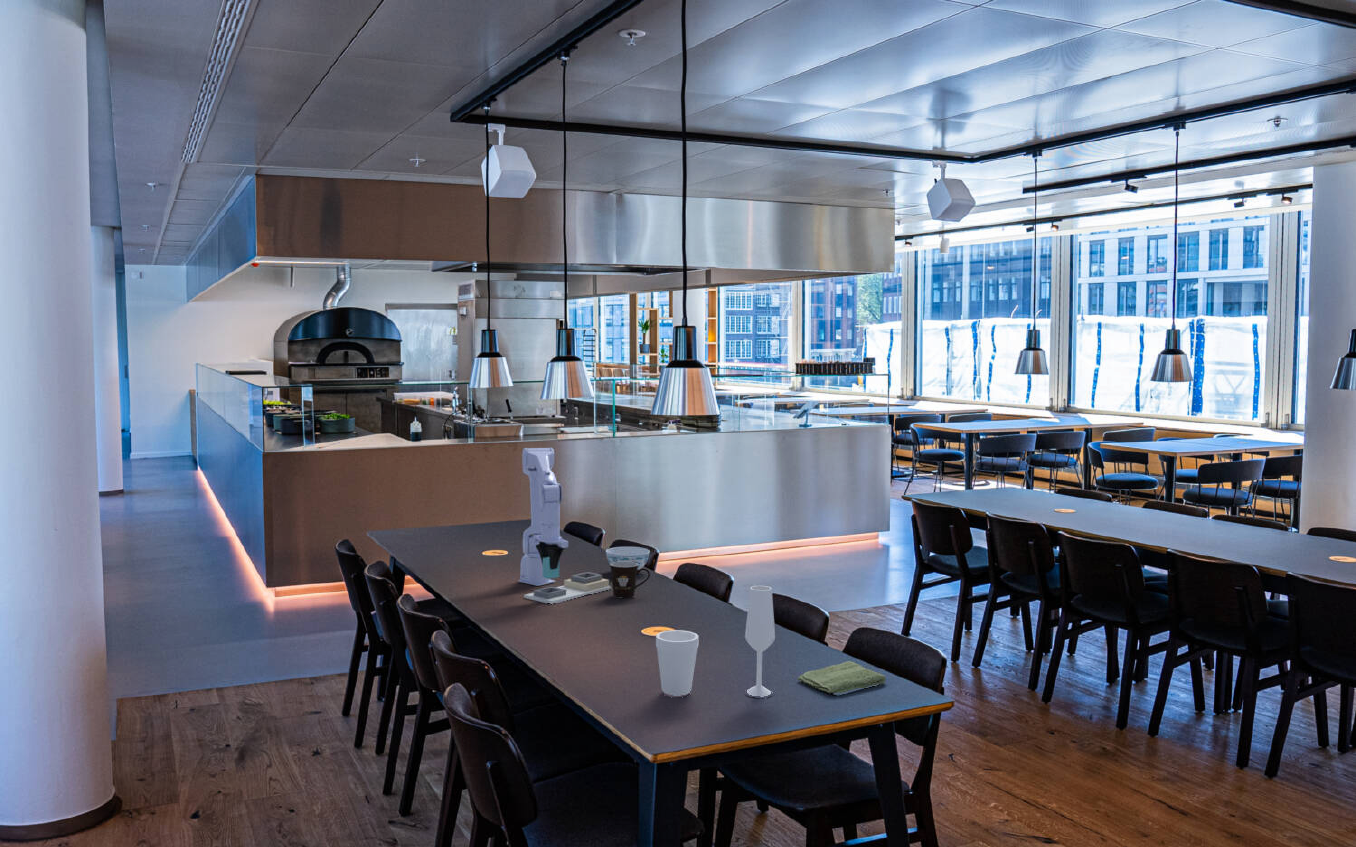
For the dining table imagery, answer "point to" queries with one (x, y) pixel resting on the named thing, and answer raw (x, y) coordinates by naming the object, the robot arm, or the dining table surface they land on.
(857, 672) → the washcloth
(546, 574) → the plug
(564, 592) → the panel
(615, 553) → the chinaware
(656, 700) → the dining table surface
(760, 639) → the champagne flute
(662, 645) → the foam cup
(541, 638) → the dining table surface
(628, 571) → the coffee mug
